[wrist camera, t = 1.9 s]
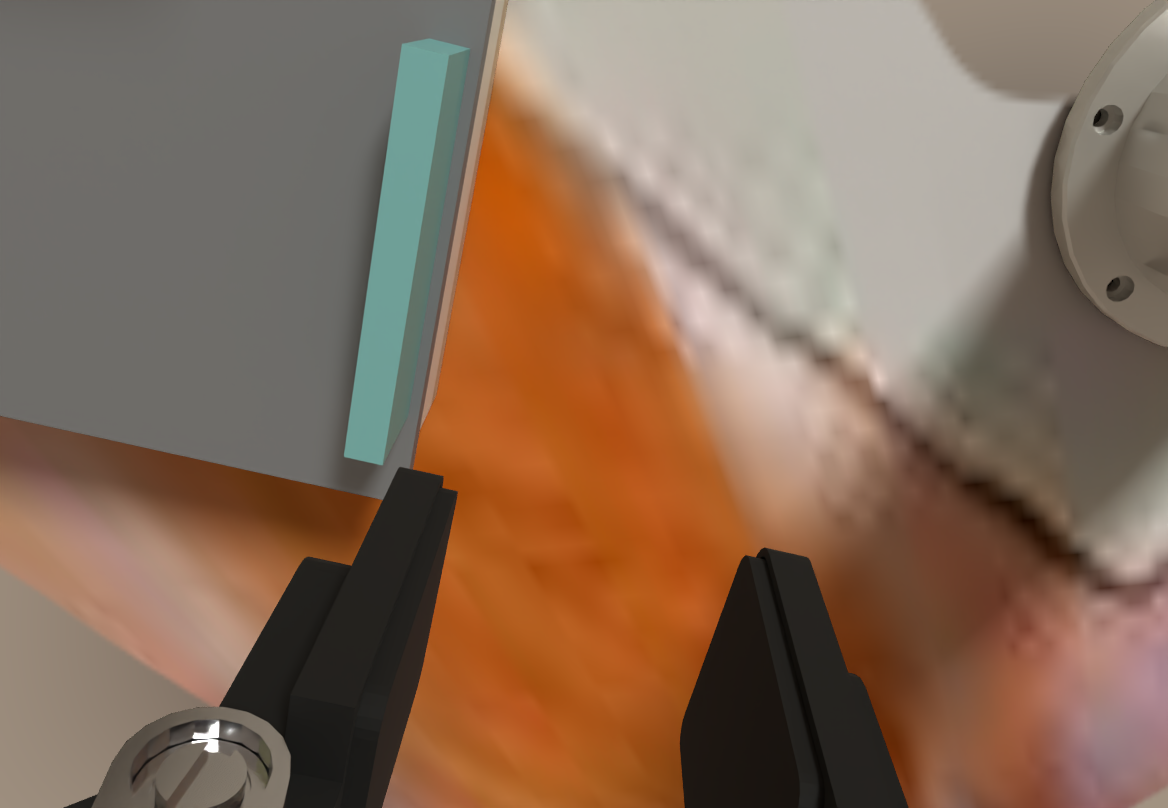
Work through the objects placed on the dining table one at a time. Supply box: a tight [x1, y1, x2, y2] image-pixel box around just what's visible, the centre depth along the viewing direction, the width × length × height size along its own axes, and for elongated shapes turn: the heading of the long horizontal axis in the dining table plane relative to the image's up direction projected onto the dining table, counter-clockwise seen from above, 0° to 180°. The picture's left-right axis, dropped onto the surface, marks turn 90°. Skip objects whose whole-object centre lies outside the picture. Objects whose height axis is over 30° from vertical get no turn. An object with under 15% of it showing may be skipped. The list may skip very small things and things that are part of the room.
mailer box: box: [420, 0, 508, 429], centre depth 27 cm, size 20×15×6 cm
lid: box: [0, 0, 496, 500], centre depth 22 cm, size 21×16×4 cm
